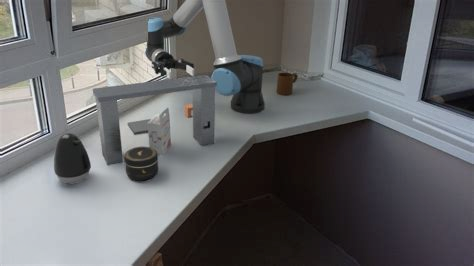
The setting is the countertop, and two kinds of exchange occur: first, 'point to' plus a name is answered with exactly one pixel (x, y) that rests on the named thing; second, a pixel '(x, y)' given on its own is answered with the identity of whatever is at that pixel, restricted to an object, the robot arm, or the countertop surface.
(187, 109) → the terracotta clay block
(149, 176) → the jar
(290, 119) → the countertop surface
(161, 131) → the ink cartridge box
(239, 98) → the robot arm
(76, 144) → the black egg-shaped piece
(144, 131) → the mat
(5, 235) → the countertop surface
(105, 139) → the grey gantry arch
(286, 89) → the mug
